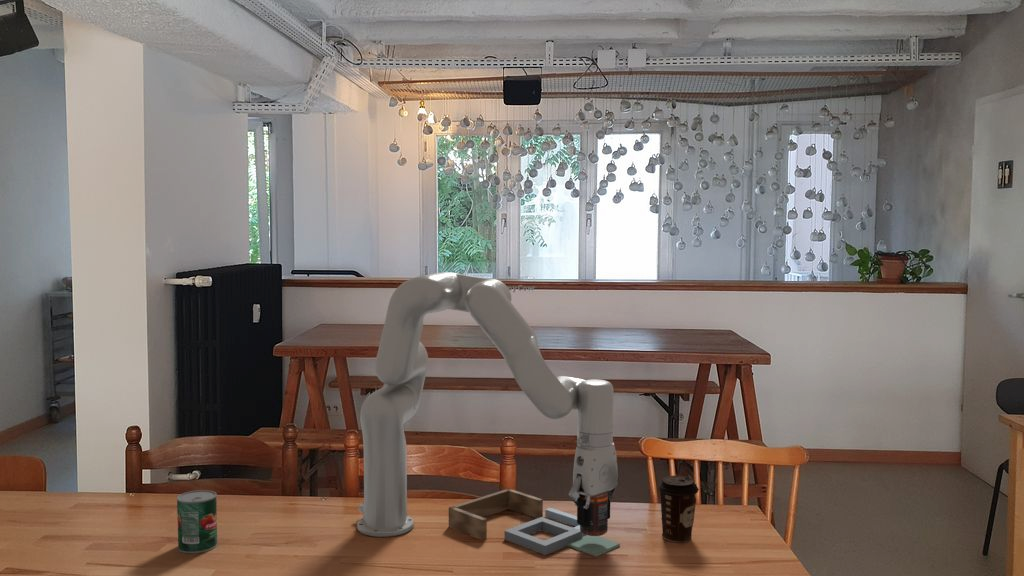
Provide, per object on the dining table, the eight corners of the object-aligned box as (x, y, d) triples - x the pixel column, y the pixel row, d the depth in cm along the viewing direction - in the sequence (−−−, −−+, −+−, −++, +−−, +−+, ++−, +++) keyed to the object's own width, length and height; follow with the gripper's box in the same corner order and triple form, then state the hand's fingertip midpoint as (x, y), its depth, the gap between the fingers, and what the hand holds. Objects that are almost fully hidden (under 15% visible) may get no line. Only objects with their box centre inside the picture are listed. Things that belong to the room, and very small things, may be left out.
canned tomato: (177, 542, 178) (176, 492, 177) (216, 537, 181) (215, 488, 180) (178, 556, 171) (177, 504, 170) (219, 550, 174) (217, 499, 173)
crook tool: (530, 522, 192) (530, 514, 192) (550, 515, 197) (550, 507, 197) (577, 538, 182) (577, 530, 182) (596, 530, 187) (596, 522, 187)
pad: (567, 546, 178) (567, 543, 178) (590, 536, 183) (590, 533, 183) (596, 556, 172) (596, 553, 172) (619, 546, 178) (619, 543, 178)
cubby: (448, 526, 188) (448, 507, 188) (508, 506, 202) (508, 488, 202) (482, 540, 180) (482, 520, 180) (542, 518, 194) (542, 499, 194)
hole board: (504, 539, 181) (504, 530, 181) (541, 525, 189) (541, 516, 189) (545, 555, 173) (545, 545, 172) (582, 539, 181) (582, 530, 181)
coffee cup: (699, 533, 185) (701, 476, 184) (695, 547, 177) (696, 487, 176) (660, 528, 188) (661, 472, 187) (654, 541, 180) (655, 483, 179)
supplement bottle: (611, 529, 179) (612, 478, 178) (602, 539, 173) (603, 486, 173) (585, 525, 181) (585, 474, 180) (575, 534, 176) (576, 482, 175)
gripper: (582, 449, 167) (581, 536, 168) (633, 434, 179) (632, 515, 181) (554, 442, 172) (553, 527, 174) (606, 428, 185) (604, 507, 186)
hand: (593, 520), depth 177 cm, fingers closed on supplement bottle, 6 cm apart
